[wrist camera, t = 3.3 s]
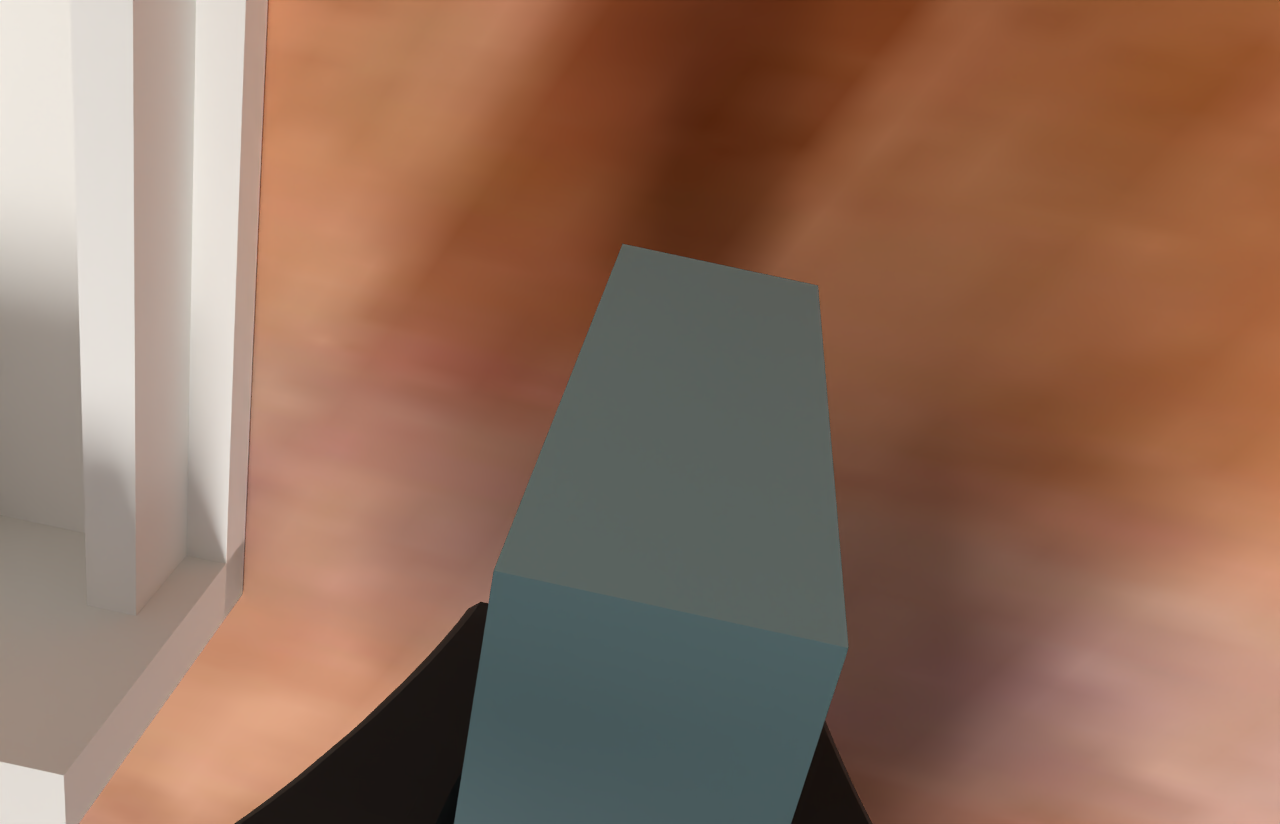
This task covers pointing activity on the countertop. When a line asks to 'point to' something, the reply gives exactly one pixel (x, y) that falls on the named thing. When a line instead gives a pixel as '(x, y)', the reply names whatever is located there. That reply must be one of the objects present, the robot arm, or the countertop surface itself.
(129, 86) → the track
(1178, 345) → the countertop surface
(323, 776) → the robot arm
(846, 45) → the countertop surface
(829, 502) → the rectangular block
